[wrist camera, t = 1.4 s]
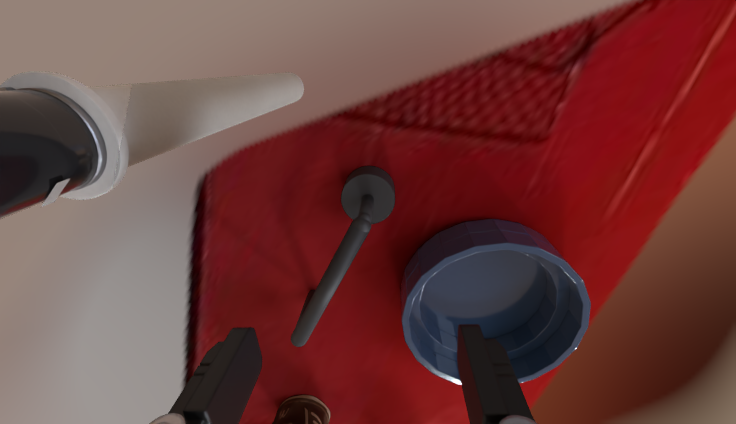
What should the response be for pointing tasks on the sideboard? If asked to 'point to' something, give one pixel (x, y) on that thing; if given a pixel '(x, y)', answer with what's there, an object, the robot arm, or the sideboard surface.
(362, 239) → the door handle
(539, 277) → the bowl
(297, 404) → the coffee cup
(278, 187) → the sideboard surface
